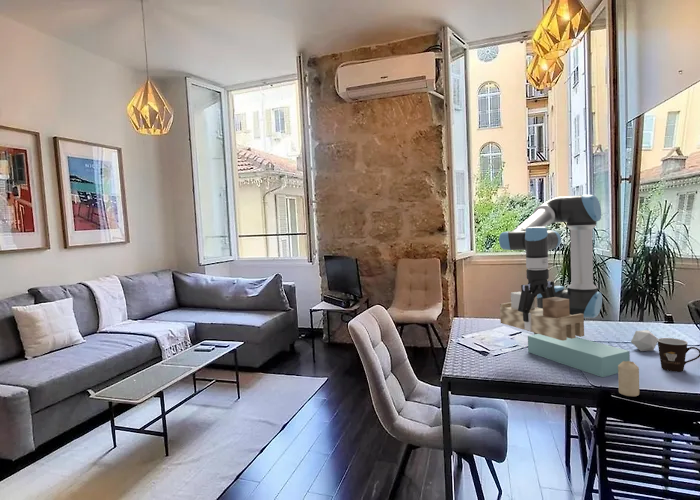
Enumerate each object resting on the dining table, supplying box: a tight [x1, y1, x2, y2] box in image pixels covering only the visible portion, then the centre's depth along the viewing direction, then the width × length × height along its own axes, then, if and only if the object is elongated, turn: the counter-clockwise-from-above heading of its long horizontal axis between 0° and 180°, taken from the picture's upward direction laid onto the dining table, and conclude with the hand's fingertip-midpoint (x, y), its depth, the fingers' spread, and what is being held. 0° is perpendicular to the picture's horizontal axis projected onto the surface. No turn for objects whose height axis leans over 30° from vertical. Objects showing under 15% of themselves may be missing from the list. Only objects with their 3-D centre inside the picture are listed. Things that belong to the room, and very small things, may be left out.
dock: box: [527, 334, 631, 378], centre depth 169 cm, size 34×14×7 cm, turn 22°
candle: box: [617, 360, 640, 397], centre depth 137 cm, size 6×6×10 cm
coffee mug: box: [657, 337, 700, 373], centre depth 153 cm, size 12×9×10 cm
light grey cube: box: [510, 291, 536, 310], centre depth 168 cm, size 6×6×6 cm
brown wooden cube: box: [543, 297, 570, 318], centre depth 154 cm, size 6×6×6 cm
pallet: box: [499, 301, 585, 341], centre depth 161 cm, size 30×10×8 cm, turn 22°
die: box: [630, 329, 659, 352], centre depth 177 cm, size 8×9×10 cm
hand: (539, 327), depth 162 cm, fingers closed on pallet, 10 cm apart
